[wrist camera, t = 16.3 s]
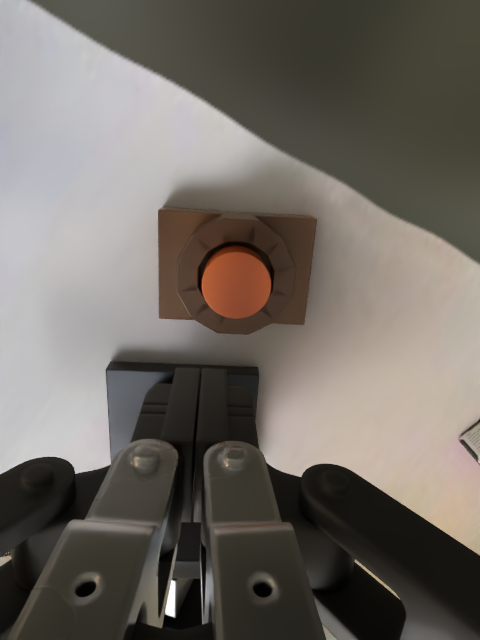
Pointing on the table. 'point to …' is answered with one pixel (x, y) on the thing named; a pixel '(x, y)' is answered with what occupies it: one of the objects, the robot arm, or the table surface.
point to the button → (236, 282)
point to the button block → (233, 230)
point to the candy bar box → (472, 441)
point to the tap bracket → (123, 412)
